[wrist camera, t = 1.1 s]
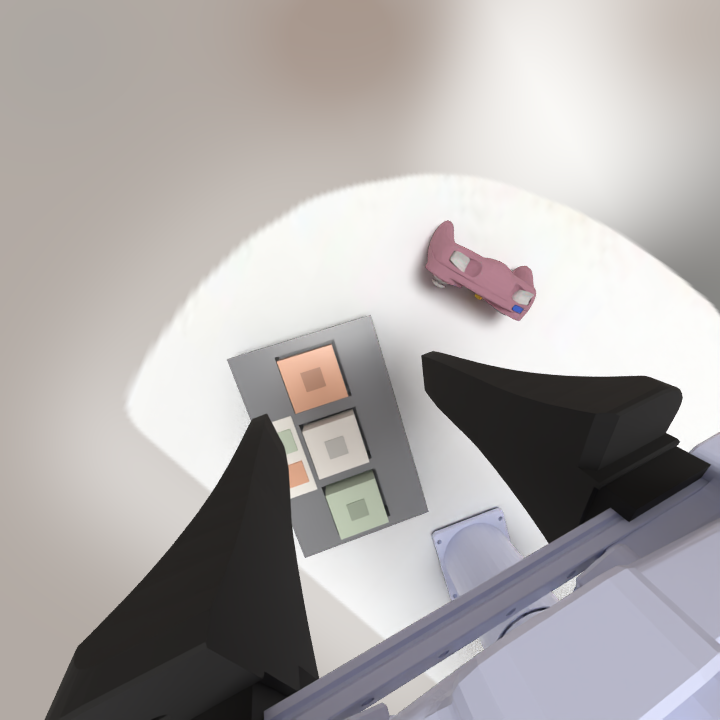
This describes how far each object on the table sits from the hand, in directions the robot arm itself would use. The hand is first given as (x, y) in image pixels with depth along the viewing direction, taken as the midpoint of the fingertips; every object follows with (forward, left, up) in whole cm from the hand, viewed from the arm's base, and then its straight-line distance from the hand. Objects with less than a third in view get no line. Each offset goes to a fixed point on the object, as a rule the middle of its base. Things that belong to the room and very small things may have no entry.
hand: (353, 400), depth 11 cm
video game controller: (+4, -14, -13) cm, 19 cm away
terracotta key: (0, +3, -11) cm, 11 cm away
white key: (-6, +3, -11) cm, 13 cm away
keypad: (-6, +3, -13) cm, 14 cm away
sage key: (-12, +3, -11) cm, 16 cm away
